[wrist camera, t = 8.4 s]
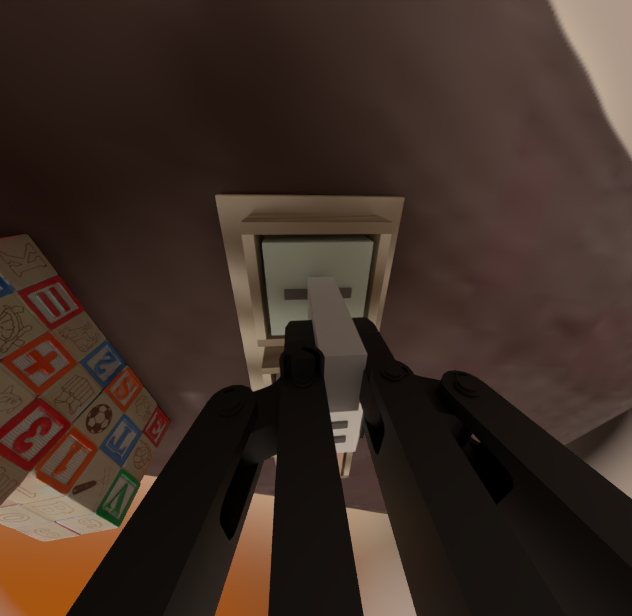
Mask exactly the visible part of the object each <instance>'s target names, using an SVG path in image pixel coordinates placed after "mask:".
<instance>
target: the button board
mask: <svg viewBox="0 0 632 616" xmlns="http://www.w3.org/2000/svg"><path fill="white" fill-rule="evenodd" d="M215 199H216V204H217V210H218V215H219V220H220V225H221V231H222V236H223V241H224V246H225V252H226V257H227V262H228V267H229V273H230V278H231V283H232V288H233V294H234V299H235V304H236V309H237V315H238V320H239V325H240V330H241V336H242V341H243V346H244V352H245V357H246V362H247V367H248V373H249V378H250V383H251V388H252V391H256V390H259V389H262V388H265V387H267V386H269V385H271V384H273V383H274V382H276V375H277V374H278V373H280V366H279V358H280V355H281V353H282V352H283V351H284V341H285V335H272V334H271V325H270V315H269V306H268V296H267V287H266V277H265V268H264V259H263V249H262V242H263V239H264V237H265V235H279V234H364V235H365V236H366V237H368V238H369V239H370V240H372V241H373V249H372V257H371V264H370V271H369V278H368V285H367V292H366V299H365V306H364V313H363V317H367V318H368V319H369V320H370V321H372V322H373V323H374V324H375V326H376V328H377V329H378V332H379V329H380V324H381V319H382V314H383V309H384V303H385V298H386V293H387V288H388V282H389V277H390V272H391V267H392V262H393V256H394V251H395V246H396V241H397V236H398V230H399V225H400V220H401V215H402V209H403V204H404V199H405V197H399V196H356V195H262V194H219V195H215ZM362 416H363V413H362ZM361 422H362V418H361ZM360 427H361V424H360ZM359 434H360V429H359ZM359 434H358V439H359ZM357 444H358V440H357ZM356 449H357V445H356ZM352 454H353V452H344V455H343V462H342V469H341V476H340V477H341V478H348V476H349V471H350V465H351V459H352ZM272 457H275V464H276V461H277V455H275V456H272Z"/></svg>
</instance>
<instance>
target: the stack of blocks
mask: <svg viewBox="0 0 632 616" xmlns="http://www.w3.org/2000/svg"><path fill="white" fill-rule="evenodd" d="M169 424H170V421H169V419H168V418H167V417H166V416H165V415H164V413H163V412H162V411H161V409H160V408H159V407H158V406H157V403H156V402H155V400H154V399H153V398H152V396H151V395H150V394H149V392H148V391H147V390H146V389H145V388H144V387H143V385H142V383H141V382H140V381H139V379H138V378H137V377H136V375H135V374H134V372H133V371H132V370H131V369H130V367H129V366H128V365H126V364H125V362H124V360H123V359H122V358H121V357H120V355H119V354H118V353H117V352H116V350H115V349H114V348H113V346H112V345H111V344H110V342H109V341H108V340H106V338H105V336H104V335H103V334H102V332H101V331H100V330H99V329H98V327H97V326H96V325H95V323H94V322H93V321H92V319H91V318H90V317H89V316H88V314H87V313H86V312H85V311H84V308H83V307H82V305H81V304H80V302H79V301H78V300H77V299H76V297H75V296H74V295H73V293H72V292H71V291H70V289H69V288H68V287H67V286H66V284H65V283H64V282H63V280H62V279H61V278H60V276H59V275H58V274H57V272H56V271H55V269H54V268H53V267H52V265H51V264H50V263H49V262H48V260H47V259H46V258H45V256H44V255H43V254H42V252H41V251H40V250H39V248H38V247H37V246H36V245H35V243H34V242H33V241H32V239H31V238H30V237H29V236H28V235H27V234H21V235H15V236H8V237H2V238H0V524H2V525H5V526H7V527H10V528H14V529H15V530H17V531H19V532H22V533H24V534H26V535H28V536H30V537H33V538H36V539H38V540H40V541H43V542H44V541H51V540H57V539H62V538H68V537H74V536H80V535H81V534H86V533H92V532H98V531H103V530H109V529H114V528H119V526H120V525H121V523H122V521H123V519H124V517H125V515H126V513H127V511H128V509H129V507H130V505H131V503H132V501H133V499H134V497H135V495H136V493H137V491H138V489H139V487H140V482H141V480H142V478H143V476H144V474H145V473H146V471H147V468H148V466H149V464H150V462H151V461H152V459H153V456H154V455H155V453H156V451H157V447H158V445H159V443H160V442H161V440H162V438H163V436H164V434H165V432H166V430H167V428H168V426H169Z"/></svg>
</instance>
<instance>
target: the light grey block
mask: <svg viewBox="0 0 632 616" xmlns="http://www.w3.org/2000/svg"><path fill="white" fill-rule="evenodd" d="M262 249H263V259H264V268H265V277H266V287H267V296H268V306H269V315H270V325H271V334H272V335H285V327H286V326H287V324H288V323H289V322H290V321H298V320H308V308H307V277H334V279H335V281H336V283H337V286H338V288H339V290H340V293H341V295H342V297H343V299H344V302H345V304H346V306H347V309H348V311H349V313H350V315H351V318H356V317H363V313H364V306H365V299H366V292H367V285H368V278H369V271H370V264H371V257H372V249H373V241H372V240H370V239H369V238H368V237H366V236H365V235H364V234H279V235H265V237H264V239H263V242H262Z"/></svg>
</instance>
